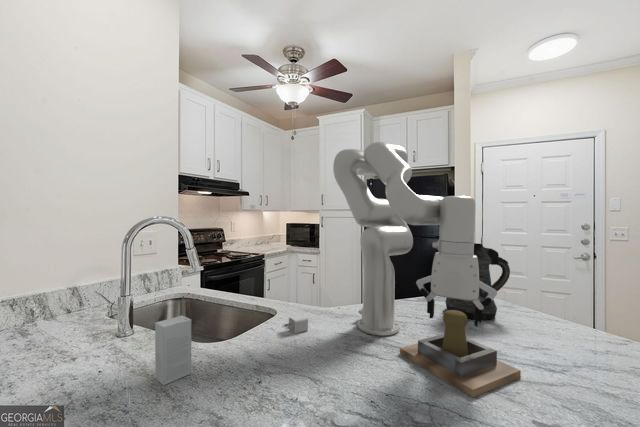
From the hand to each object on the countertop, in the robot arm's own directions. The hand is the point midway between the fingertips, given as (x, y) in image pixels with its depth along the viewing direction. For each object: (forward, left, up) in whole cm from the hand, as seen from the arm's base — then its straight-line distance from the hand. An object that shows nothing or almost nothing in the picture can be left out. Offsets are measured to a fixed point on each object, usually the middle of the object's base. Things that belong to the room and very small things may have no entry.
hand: (453, 320), depth 70 cm
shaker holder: (+1, 0, -10) cm, 10 cm away
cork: (+1, 0, -9) cm, 9 cm away
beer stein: (-21, +38, -10) cm, 45 cm away
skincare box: (-23, -59, -10) cm, 64 cm away
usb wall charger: (-34, -26, -10) cm, 44 cm away
